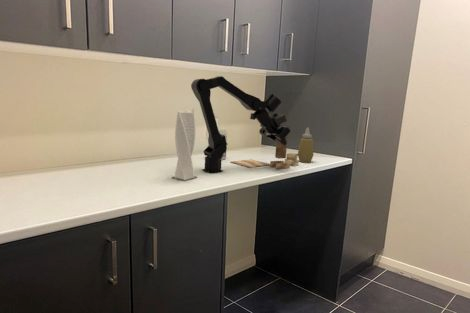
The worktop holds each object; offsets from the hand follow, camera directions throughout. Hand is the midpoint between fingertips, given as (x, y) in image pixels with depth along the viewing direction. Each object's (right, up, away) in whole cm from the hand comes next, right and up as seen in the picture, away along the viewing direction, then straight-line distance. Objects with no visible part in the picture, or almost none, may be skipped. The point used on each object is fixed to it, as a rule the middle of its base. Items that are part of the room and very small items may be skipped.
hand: (284, 143), depth 157 cm
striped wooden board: (-16, -9, +7) cm, 19 cm away
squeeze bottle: (+14, -9, +18) cm, 25 cm away
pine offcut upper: (+5, -7, +8) cm, 12 cm away
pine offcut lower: (+5, -10, +8) cm, 14 cm away
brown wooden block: (-2, -7, +1) cm, 7 cm away
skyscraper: (-43, -15, -28) cm, 53 cm away
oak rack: (-2, -11, +1) cm, 11 cm away
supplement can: (-32, -7, +16) cm, 36 cm away
